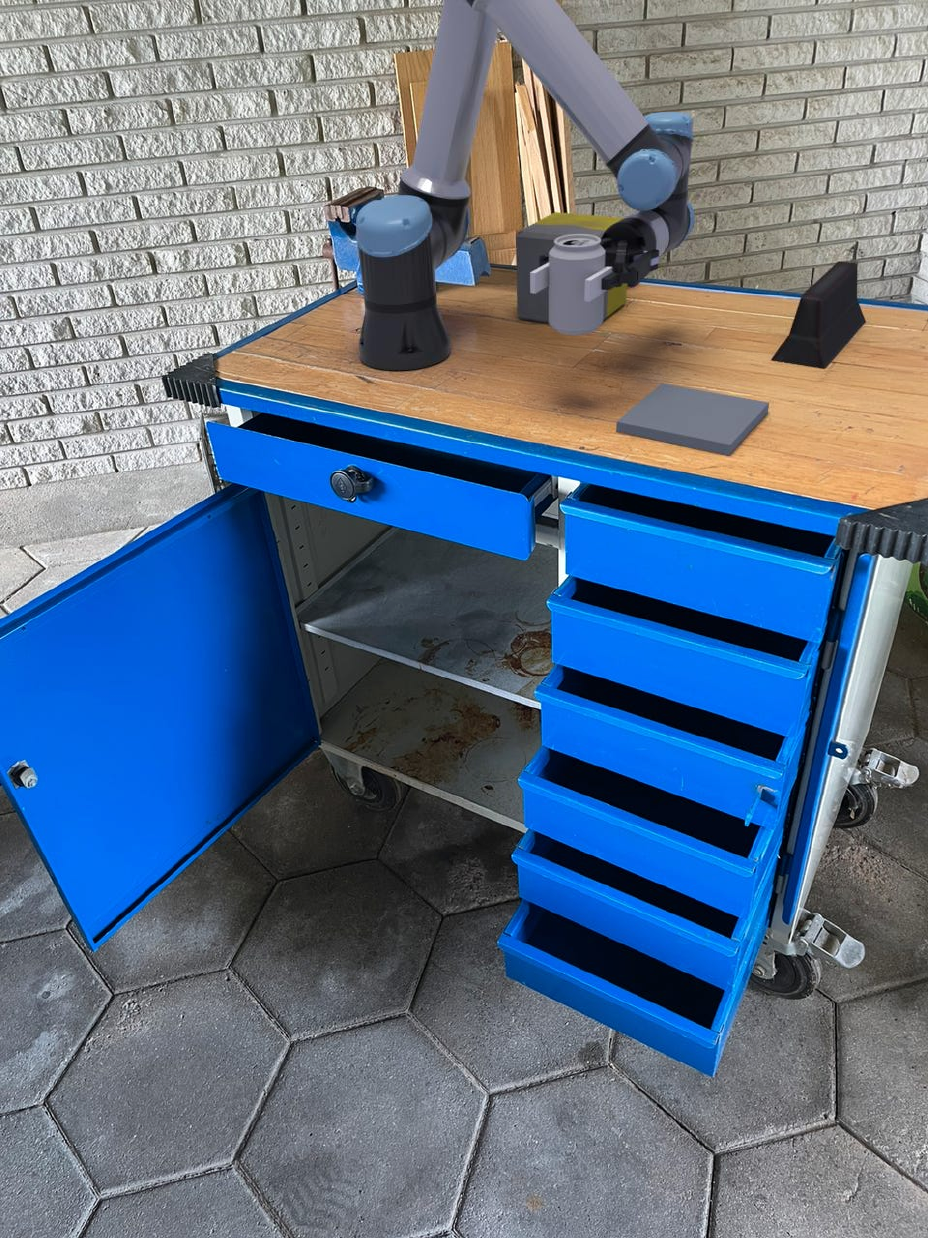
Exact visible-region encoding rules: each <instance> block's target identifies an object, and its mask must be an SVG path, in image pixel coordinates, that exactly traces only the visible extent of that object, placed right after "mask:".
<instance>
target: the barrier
mask: <svg viewBox="0 0 928 1238" xmlns="http://www.w3.org/2000/svg"><path fill="white" fill-rule="evenodd" d="M858 266H859V264H858V262H848V261H837V262H836V263H835V264H834V265H833V266H832V267H830V268H829V269H828V271H826V272H825V273H824V274H823V275H822V276H821V277H819V278H818V280H816V282H814V284H812V285H811V286H810V287H808V289H807V290H806V291H804V293H802V295H801V296H800V299H799V302H798V306H797V309H796V311H795V315H794V317H793V321H792V323H791V327H790V329H789V333H788V335H787V336H786V338H785V339H784V341H783V342H782V344H781V345H780V346H779V347H778V349H777V350H776V352H775V354H774V355H773V356H772V357H771V359H770V361H772V362H776V361H777V363H783V362H784V363H785V364H789V363H790V365H795V364H796V366H801V365H802V366H803V367H808V368H814V369H820V370H825V369H826V368H828V367H829V365H830V364H832V362H833V361H834V359H835V358H836V357H837V356H838V355H839V354H840V353H841V352H842V351H843V349H844V348H846V347H845V346H847V344H848V343H849V342H850V341H851V340H853V339H852V338H853V337H855V335H856V334H857V333H858V332H859V331H858V330H861V329H862V328H863V326H864V325H865V324H866V319H865V316H864V313H863V310H862V307H861V305H860V303H859V300H858Z"/></svg>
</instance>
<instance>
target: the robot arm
mask: <svg viewBox="0 0 928 1238" xmlns="http://www.w3.org/2000/svg"><path fill="white" fill-rule="evenodd" d="M442 4H443V5H442V9H441V14H440V19H439V25H438V30H437V35H436V40H435V46H434V51H433V55H432V62H431V66H430V67H431V68H430V72H429V78H428V82H427V87H426V93H425V99H424V103H423V108H422V114H421V119H420V120H421V121H420V124H419V130H418V136H417V141H416V146H415V151H414V155H413V162H412V164H411V165H410V166H409V167H408V168H406V169H404V170H403V171H402V172H401V174H400V180H399V186H398V191H397V194H396V195H391V196H384V197H382V198H381V199H379V200H378V199H375V200H372V201H370V202H369V203H367V204H365V205H364V206H363V207H362V208H361V209H360V210H358V213H357V215H356V220H355V224H356V226H355V227H356V228H355V229H356V232H355V239H356V245H357V250H358V252H357V253H358V259H359V266H360V275H361V285H362V294H363V300H364V316H363V319H362V320H363V321H362V326H361V330H360V337H359V340H358V352H359V353H358V354H359V358H360V361H361V362H362V363H363V364H364V365H365V366H369V367H370V368H374V369H379V370H385V371H407V370H408V371H409V370H416V369H417V370H418V369H423V368H426V367H430V366H433V365H436V364H439V363H440V362H442V361H444V360H445V359H447V358H448V357H449V356H450V355H451V352H452V351H451V339H450V334H449V333H448V332H447V328H446V325H445V323H444V320H443V318H442V314H441V312H440V310H439V307H438V303H437V301H438V300H437V298H438V297H437V286H436V285H437V284H436V271H435V270H437V269H438V268H439V267H441V266H442V265H443V264H444V263H445V262H446V261H448V260H449V259H451V258H452V257H454V256H455V255H456V254H457V253H458V252H459V251H460V249H461V248H462V246H463V244H464V243H465V240H466V239H467V237H468V234H469V232H470V226H471V225H470V224H471V216H470V210H469V201H470V198H471V188H470V186H469V184H468V182H467V181H466V179H465V178H466V173H467V168H468V164H469V160H470V155H471V151H472V148H473V147H472V146H473V142H474V138H475V133H476V129H477V126H478V120H479V115H480V111H481V107H482V102H483V99H484V93H485V91H486V84H487V80H488V77H489V73H490V72H489V71H490V69H491V68H490V67H491V63H492V58H493V54H494V50H495V45H496V41H497V35H498V32H499V31H500V32H501V33H502V35H503V36H504V37H505V38H506V40H507V41H508V43H509V44H510V45H511V47H512V48H513V49H514V51H516V53H517V54H518V56H519V57H520V58H521V59H522V60H523V61H524V63H525V64H526V65H527V67H528V68H529V69H530V71H531V72H532V73H533V75H534V76H535V77H536V78H537V79H538V80H539V82H540V83H541V84H542V86H543V87H544V88H545V89H546V91H547V92H548V94H549V95H550V96H551V97H552V99H553V100H554V101H555V102H556V103H557V105H558V106H559V107H560V109H562V111H563V113H564V114H565V115H566V117H568V119H569V121H571V123H572V124H573V125H574V126H575V128H576V129H577V131H579V133H580V135H581V136H582V137H583V138H584V139H585V140H586V142H587V143H588V144H589V146H591V148H592V150H594V152H595V153H596V155H597V156H598V157H599V158H600V160H601V161H602V162H603V163H604V165H605V166H606V167H607V168H608V170H609V172H610V173H611V174H612V176H613V177H614V178H615V179H616V181H617V191H618V195H619V196H620V198H621V201H623V203H624V204H626V205H627V206H628V207H630V208H631V209H633V210H636V211H635V212H633V213H631V214H629V215H627V216H625V217H622V218H623V219H622V220H620V221H618V222H616V223H614V224H613V225H611V226H610V227H609V228H608V229H607V230H606V231H605V232H604V234H603V236H602V238H601V243H600V245H601V246H602V247H603V248H604V250H605V251H606V253H605V268H604V269H602V270H601V271H599V272H597V273H596V274H594V275H592V276H591V277H589V278H587V279H586V280H585V295H584V301H588V302H590V301H591V300H593V299H595V298H596V297H598V296H599V295H601V294H602V293H604V292H605V291H607V290H611V289H612V288H614V287H621V286H622V284H624V283H625V284H627V288H631V289H633V288H636V287H637V286H638V285H639V284H640V283H641V282H642V281H643V280H644V279H645V278H646V277H647V276H648V275H649V274H650V273H651V272H653V271H656V270H658V269H659V263H660V262H659V259H660V257H662V256H664V255H665V254H667V253H669V252H670V251H673V250H674V249H676V248H677V247H679V246H680V245H682V244H683V243H684V241H685V240H686V239H687V238H688V237H689V236H690V235H691V233H692V232H693V229H694V226H695V222H696V220H695V219H696V215H695V211H694V208H693V207H692V204H691V203H690V201H689V200H688V199H689V198H688V197H689V196H688V195H689V193H688V192H689V190H688V189H689V177H690V169H691V168H690V167H691V159H692V158H691V157H692V147H693V142H694V136H693V134H694V133H693V132H694V131H693V129H694V127H693V126H694V121H693V118H692V116H691V115H690V114H689V113H685V112H679V111H664V112H663V111H662V112H654V113H653V112H652V113H649V114H647V115H645V116H644V115H643V114H642V111H640V110H639V108H638V107H637V106H636V104H635V103H634V102H633V100H631V98H630V97H629V95H628V94H627V93H626V91H625V90H624V89H623V88H622V86H621V85H620V83H619V82H618V80H616V78H615V77H614V76H613V74H612V73H611V72H610V70H609V69H608V68H607V66H606V65H605V64H604V62H603V60H601V58H600V57H599V56H598V54H597V53H596V52H595V50H594V49H593V48H592V47H591V45H590V44H589V42H588V41H587V39H586V38H585V37H584V35H582V33H581V32H580V30H579V29H578V28H577V27H576V25H575V24H574V22H573V21H572V20H571V19H570V18H569V17H570V16H568V15H567V13H566V12H565V11H564V9H563V8H562V7H561V5H560V4H559V2H557V0H443V3H442ZM548 286H549V252H548V253H545V254H543V255H540V256H539V268H537V269H536V270H534V271H532V272H530V293H534V294H536V293H537V292H539V291H541V290H542V289H544V288H546V287H548Z"/></svg>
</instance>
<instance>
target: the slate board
mask: <svg viewBox="0 0 928 1238" xmlns="http://www.w3.org/2000/svg"><path fill="white" fill-rule="evenodd" d="M769 407H770V402H768V401H763V400H756V399H751V398H746V397H740V396H737V395H736V396H735V395H729V394H724V393H719V392H713V391H708V390H701V389H696V388H692V387H691V388H690V387H685V386H679V385H675V384H674V385H673V384H668V383H663V382H661V383H660V384H659V385H657V387H655V388H654V389H653V390H652V391H651V392H649V393H648V394H647V395H645V397H643V398H642V399H641V400H640V401H639V402H638V403H637V404H635V405H634V406H633V407H632V408H631V409H630V410H628V411H627V412H626V413H625V414H624V415H622V416H621V417H620V418H619V419H618V420H617V421H616V426H615V427H616V429H615V432H616V433H620V434H624V435H625V434H626V435H629V436H630V435H631V436H634V437H640V438H644V439H649V440H653V441H657V442H662V443H668V444H672V445H676V446H680V447H686V448H691V449H695V450H701V451H705V452H709V453H714V454H719V455H724V456H731V454H732V453H733V452H734V451H735V450H736V449H737V447H739V445H740V444H741V443H742V442H743V441H744V440H745V439H746V437H747V436H749V434H750V433H751V432H752V431H753V430H754V428H756V426H758V424H759V423H760V422H761V421H762V420H763V419H764V418H765V416H766V415H767V414H768V413H769Z"/></svg>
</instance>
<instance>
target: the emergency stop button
mask: <svg viewBox="0 0 928 1238" xmlns="http://www.w3.org/2000/svg"><path fill="white" fill-rule="evenodd" d="M623 218H624V217H618V216H611V215H608V216H605V215H604V216H603V215H593V214H581V213H580V214H579V213H571V212H569V213H567V212H557V211H555V212H553V213H551V214H549V215H547V216H545V217H544V218H541V219H540V220H538V221H536V222H534V223H532V224H530V225H528V226H527V227H524V228H522V229H521V230H519V231H518V232H517V233H516V235H515V252H516V253H515V254H516V257H515V258H516V261H515V262H516V303H517V304H516V307H517V308H516V309H517V316H518V318H519V319H520V320H521V321H522V320H524V321H532V322H538V323H545V324H549V286H548V287H546V288H544V289H542V290H541V291H539V292H537V293H536V294H534V293H530V272H532V271H534V270H536V269H537V268H539V256H540V255H543V254H545V253H548V252H550V250H551V249H552V248H553V247H554V246H555V243H554V240H555V239H556V238H558V237H561V236H564V235H570V234H589V235H594V236H597V237H599V238H600V239H601V238H602V236H603V234H604V232H605V231H606V230H607V229H608V228H609V227H610V226H611V225H613V224H614V223H616V222H618V221H620V220H622V219H623ZM627 289H628V286H627V284H625V283H624V284H622V286H621V287H614V288H612V289H611V290H607V291H605V292H604V309H603V321H604V320H605V319H606V318H608V317H609V316H611V315H612V314H613V313H614V312H616V311H617V310H618V309H619V308H621V307H622V306H623V305H624V304H625V303H627Z"/></svg>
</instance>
